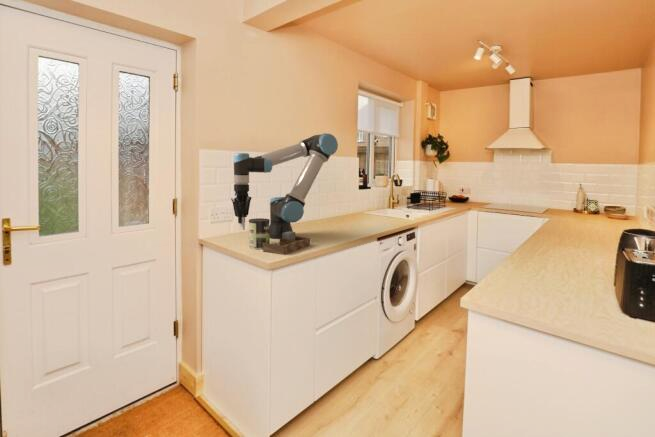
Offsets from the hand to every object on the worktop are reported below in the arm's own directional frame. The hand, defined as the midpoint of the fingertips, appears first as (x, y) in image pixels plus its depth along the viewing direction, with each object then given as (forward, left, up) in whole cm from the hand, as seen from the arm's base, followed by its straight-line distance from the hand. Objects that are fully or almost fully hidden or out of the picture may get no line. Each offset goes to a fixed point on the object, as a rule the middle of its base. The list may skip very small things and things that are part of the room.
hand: (241, 229), depth 189 cm
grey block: (-11, +22, -8) cm, 26 cm away
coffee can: (0, +11, -8) cm, 14 cm away
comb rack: (-5, +25, -8) cm, 26 cm away
